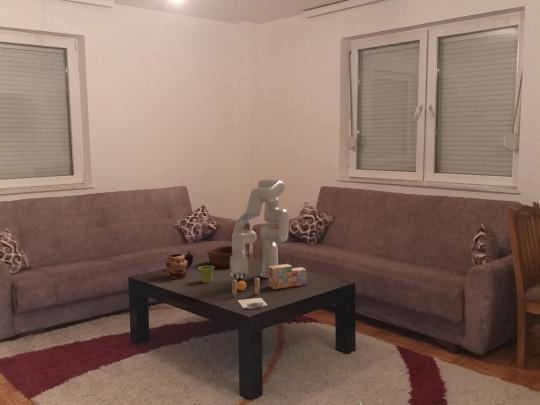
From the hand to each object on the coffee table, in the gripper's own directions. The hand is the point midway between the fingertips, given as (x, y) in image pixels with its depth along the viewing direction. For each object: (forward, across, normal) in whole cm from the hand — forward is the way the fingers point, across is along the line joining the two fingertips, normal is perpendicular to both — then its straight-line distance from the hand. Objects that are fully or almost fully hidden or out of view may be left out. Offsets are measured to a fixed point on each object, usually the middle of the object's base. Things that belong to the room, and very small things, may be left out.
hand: (239, 285), depth 317 cm
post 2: (+2, -7, +15) cm, 16 cm away
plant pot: (+2, +16, -20) cm, 26 cm away
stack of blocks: (+2, -28, +3) cm, 28 cm away
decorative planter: (+2, +33, -37) cm, 50 cm away
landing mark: (+2, -1, +29) cm, 29 cm away
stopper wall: (+2, -1, +37) cm, 37 cm away
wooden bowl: (+2, -3, -58) cm, 58 cm away
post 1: (+2, +6, +15) cm, 16 cm away
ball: (-1, 0, +5) cm, 5 cm away
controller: (+2, +25, -58) cm, 63 cm away
